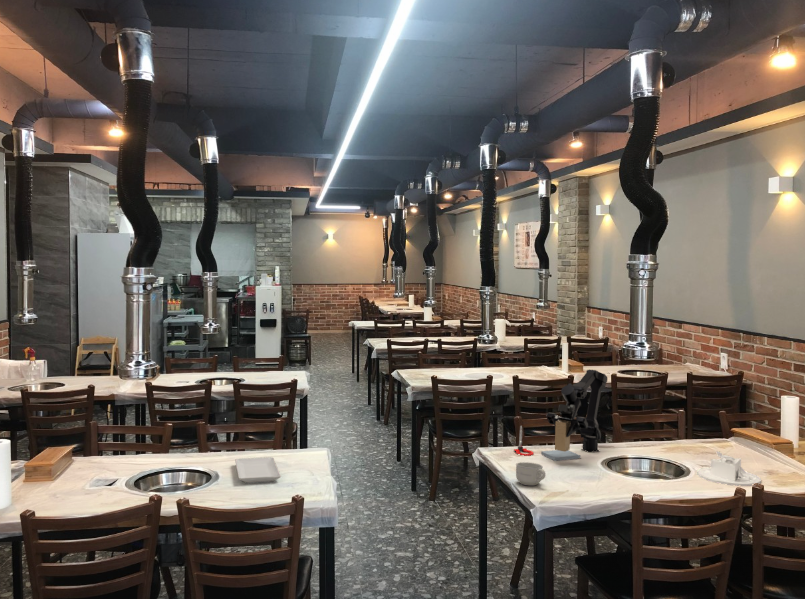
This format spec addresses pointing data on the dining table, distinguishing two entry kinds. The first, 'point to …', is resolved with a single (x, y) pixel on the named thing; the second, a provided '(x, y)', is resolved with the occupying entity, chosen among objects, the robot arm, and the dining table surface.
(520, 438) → the tow hook
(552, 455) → the mat
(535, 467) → the teacup
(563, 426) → the gold metal block
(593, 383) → the robot arm
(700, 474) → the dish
